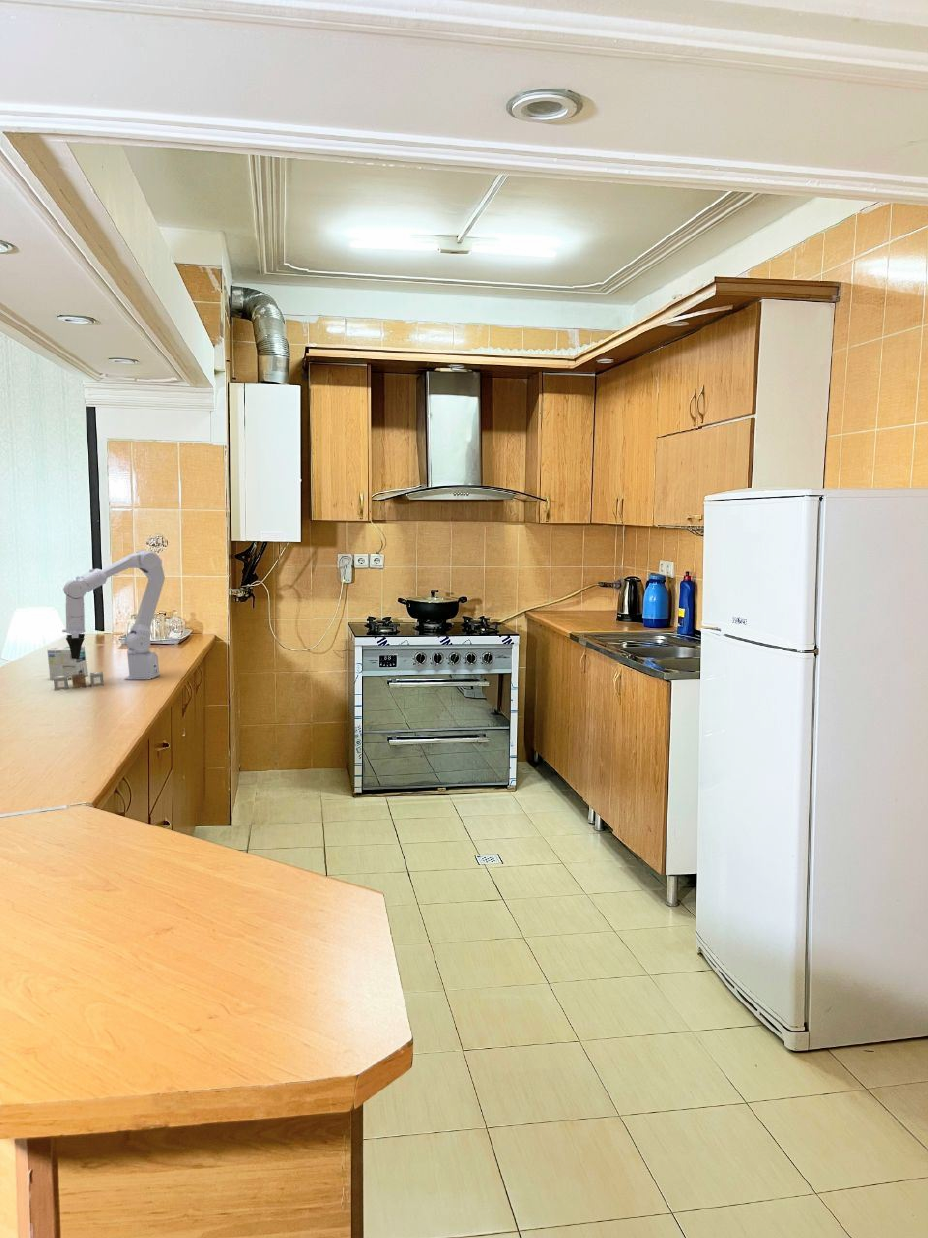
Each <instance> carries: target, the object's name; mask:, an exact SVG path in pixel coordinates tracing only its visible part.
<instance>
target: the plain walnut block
mask: <svg viewBox="0 0 928 1238" xmlns="http://www.w3.org/2000/svg"><path fill="white" fill-rule="evenodd" d="M71 680H72V689H73V688H74V689H81V688H80V687H83V688H87V681H86V680H87V679H86V676H85V674H75V675H72V679H71Z"/></svg>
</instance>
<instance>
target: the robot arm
mask: <svg viewBox="0 0 928 1238" xmlns="http://www.w3.org/2000/svg"><path fill="white" fill-rule="evenodd" d="M162 564H163V561H162V559H161V558H160V556H159V555H158V553H156V551H152V550H148V551H147V550H144V549H143V550H138V551H136V552H134V553H130V554H128V555H126V556H124V557H123V558H120V559H119V560H117V561H115V562H113V563H112V564H109V565H108V566H106V567H105V568H103V569H100V568H90V569H88V571H87V572H86V573H84V574H82V575H80V576H79V575H77V576H75V579H71V580H68V581H66V583H65V584H64V586H63V588H62V591H63V593H64V594H65V629H62V632H61V633H67V635H66V637H65V641H66V642H67V645H68V647H70V651H71V656H72V659H79V658H80V652H81V647H82V646H83V644H84V641H85V636H86V634H85V633H86V632H87V631H86V622H85V621H86V620H85V618H86V615H85V611H86V610H85V596H86V594H87V593H89V592H92V591H94V590H95V589H98V588H100V587H101V586H102V585H104V584H107V580H108V578H110V577H112V576H114V575H117V574H119V573H121V572H124V571H125V570H127V569H133V568H134V569H135V568H136V569H137V568H138V569H140V570H141V571H142V572H143V574H144V575H145V577H146V578H147V583H146V586H145V589H144V593H143V595H142V599H141V602H140V605H139V609H138V612H137V615H136V619H135V622H134V624H133V625H132V626H131V628H130V631H129V633H127V635H126V636H125V638H124V644H125V646H126V648H127V649H128V650H127V664H128V665H127V666H128V676H126V677H125V678H124V680H125V681H126V680H127V681H128V680H130V681H131V680H152V679H155V678H157V677H159V676H161V673H160V667H159V656H158V654H157V653H156V652H153V651H150V647H151V634H152V630H151V625H152V622H153V618H154V615H155V613H156V609H157V607H158V603H159V599H160V595H161V593H162V589H163V586H164V583H165V579H166V577H165V571H164V568H163V565H162ZM151 678H152V679H151Z"/></svg>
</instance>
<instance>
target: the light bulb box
mask: <svg viewBox="0 0 928 1238" xmlns="http://www.w3.org/2000/svg"><path fill="white" fill-rule="evenodd" d="M86 653H87V652H86V646H84V645H82V647H81V652H80V658H79V659H72V656H71V651H70V647H69V646H55V647H53V648H48V649H47V660H48V667H49V669H48V670H49V680H51V679H52V680H54V677H56V676H65V675H67V678H71V679H70V680H72V675H75V674H85V677H87V676H89V673H88V663H87V654H86Z"/></svg>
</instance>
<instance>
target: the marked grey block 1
mask: <svg viewBox="0 0 928 1238" xmlns="http://www.w3.org/2000/svg"><path fill="white" fill-rule="evenodd" d="M68 680H69V679H67V675H65V676H56V677H54V679H53V684H54V691H61V690H60V689H64V690H68V689H69V681H68Z"/></svg>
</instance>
